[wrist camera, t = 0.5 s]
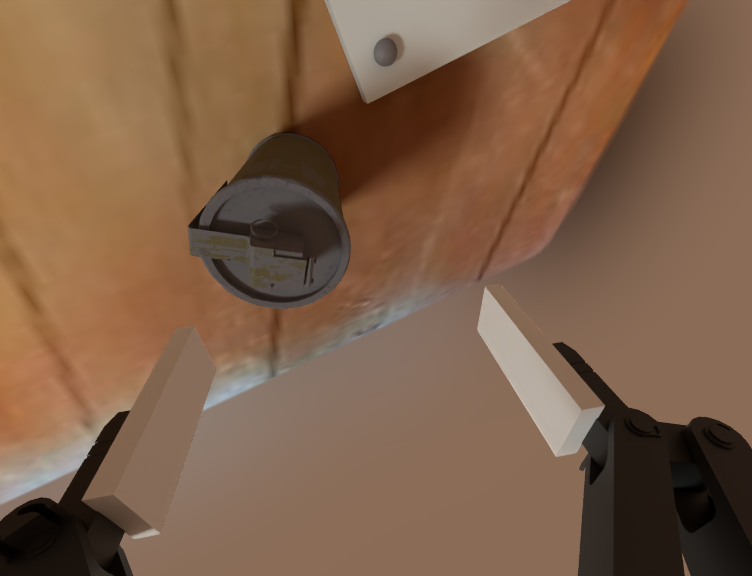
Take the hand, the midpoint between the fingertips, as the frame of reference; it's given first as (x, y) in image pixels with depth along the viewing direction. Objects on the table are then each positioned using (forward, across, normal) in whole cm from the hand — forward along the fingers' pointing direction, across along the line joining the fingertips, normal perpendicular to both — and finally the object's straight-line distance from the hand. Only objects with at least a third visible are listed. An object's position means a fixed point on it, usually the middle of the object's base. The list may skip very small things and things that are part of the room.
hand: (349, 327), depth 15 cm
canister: (+27, -4, 0) cm, 27 cm away
